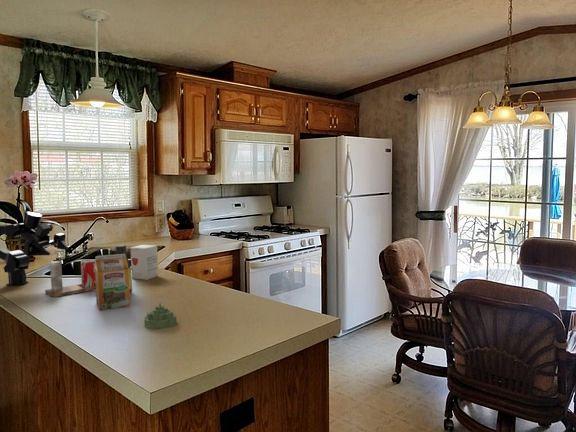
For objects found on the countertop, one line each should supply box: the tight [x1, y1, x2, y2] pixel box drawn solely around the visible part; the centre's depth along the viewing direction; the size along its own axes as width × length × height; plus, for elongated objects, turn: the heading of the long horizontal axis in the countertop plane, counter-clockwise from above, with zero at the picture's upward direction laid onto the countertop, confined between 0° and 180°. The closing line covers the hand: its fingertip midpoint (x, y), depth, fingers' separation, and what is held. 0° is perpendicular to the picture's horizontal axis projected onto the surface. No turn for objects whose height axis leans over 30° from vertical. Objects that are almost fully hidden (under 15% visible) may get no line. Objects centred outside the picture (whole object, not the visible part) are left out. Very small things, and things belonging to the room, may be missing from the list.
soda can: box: [80, 259, 96, 288], centre depth 205 cm, size 7×7×12 cm
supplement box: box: [130, 244, 159, 281], centre depth 225 cm, size 9×9×15 cm
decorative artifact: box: [143, 303, 178, 330], centre depth 154 cm, size 10×7×10 cm
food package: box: [94, 253, 131, 312], centre depth 177 cm, size 11×11×19 cm
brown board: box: [44, 260, 96, 298], centre depth 201 cm, size 22×10×13 cm, turn 135°
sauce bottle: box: [115, 244, 133, 294], centre depth 195 cm, size 7×6×20 cm
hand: (59, 251), depth 205 cm, fingers open, 9 cm apart
